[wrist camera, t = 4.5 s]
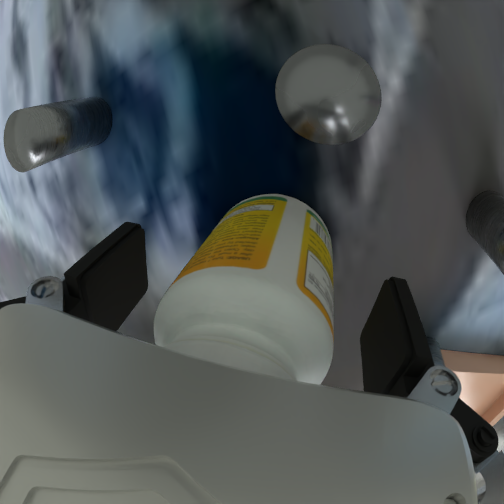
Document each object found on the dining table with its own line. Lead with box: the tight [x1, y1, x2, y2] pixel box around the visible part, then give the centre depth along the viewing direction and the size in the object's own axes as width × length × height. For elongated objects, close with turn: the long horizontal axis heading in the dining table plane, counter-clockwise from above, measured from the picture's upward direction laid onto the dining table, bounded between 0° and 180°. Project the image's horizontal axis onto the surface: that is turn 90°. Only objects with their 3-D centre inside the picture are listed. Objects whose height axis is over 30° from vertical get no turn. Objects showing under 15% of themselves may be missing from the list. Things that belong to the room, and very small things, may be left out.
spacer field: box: [4, 44, 504, 367], centre depth 13 cm, size 23×22×5 cm
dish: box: [440, 349, 504, 426], centre depth 17 cm, size 11×11×2 cm
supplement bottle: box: [154, 194, 334, 385], centre depth 10 cm, size 5×5×10 cm
